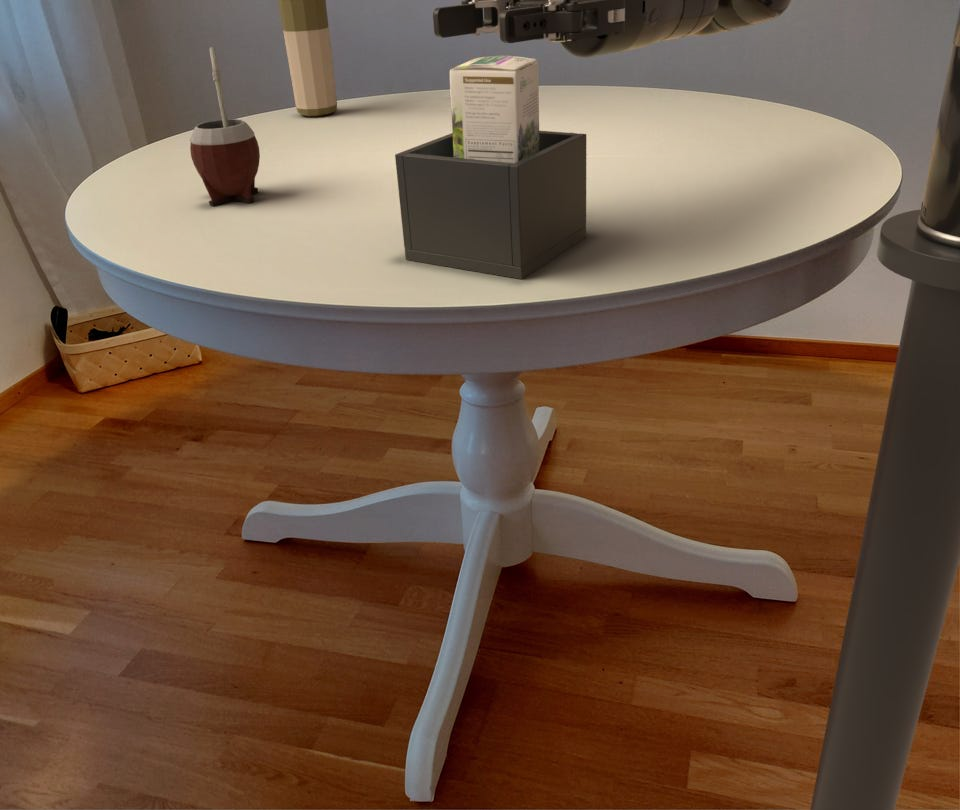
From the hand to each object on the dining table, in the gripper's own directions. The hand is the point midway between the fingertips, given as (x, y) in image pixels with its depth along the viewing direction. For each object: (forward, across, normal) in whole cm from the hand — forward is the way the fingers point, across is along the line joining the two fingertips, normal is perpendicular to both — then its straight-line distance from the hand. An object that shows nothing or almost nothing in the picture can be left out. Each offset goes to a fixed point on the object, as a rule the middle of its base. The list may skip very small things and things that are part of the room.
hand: (467, 25), depth 67 cm
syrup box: (-2, 0, +18) cm, 18 cm away
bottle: (-23, -72, +18) cm, 77 cm away
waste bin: (-2, 0, +18) cm, 18 cm away
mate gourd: (+8, -35, +18) cm, 40 cm away
